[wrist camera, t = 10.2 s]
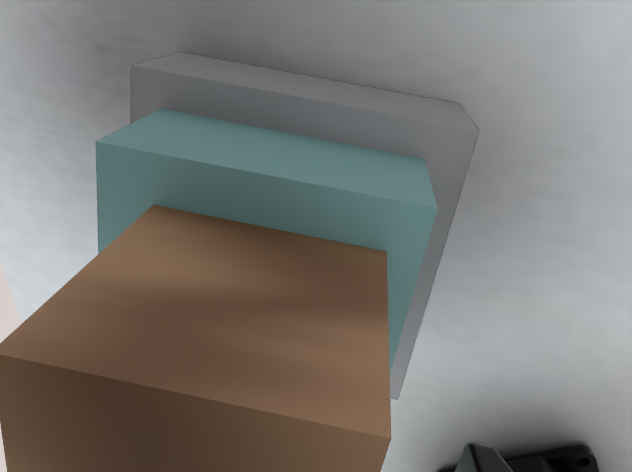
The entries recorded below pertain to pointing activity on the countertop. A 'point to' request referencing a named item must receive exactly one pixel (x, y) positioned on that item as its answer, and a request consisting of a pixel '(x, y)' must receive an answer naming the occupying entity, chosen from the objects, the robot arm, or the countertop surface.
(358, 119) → the slate block
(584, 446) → the robot arm
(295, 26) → the countertop surface
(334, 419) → the walnut cube
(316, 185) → the teal block
